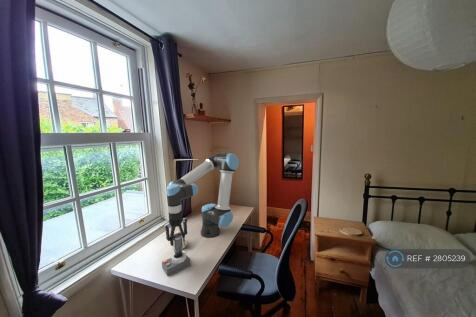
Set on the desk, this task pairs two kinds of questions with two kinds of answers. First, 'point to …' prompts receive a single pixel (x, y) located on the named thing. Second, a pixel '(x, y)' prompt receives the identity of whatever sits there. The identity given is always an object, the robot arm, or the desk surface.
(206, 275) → the desk surface
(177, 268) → the camera body
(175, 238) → the grey flashlight
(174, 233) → the teacup with lid
